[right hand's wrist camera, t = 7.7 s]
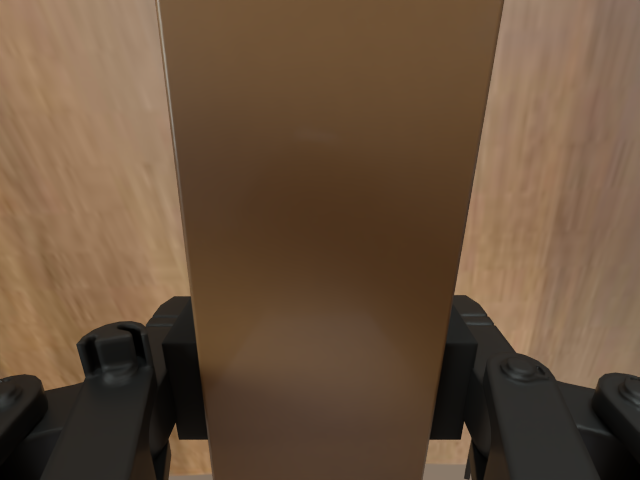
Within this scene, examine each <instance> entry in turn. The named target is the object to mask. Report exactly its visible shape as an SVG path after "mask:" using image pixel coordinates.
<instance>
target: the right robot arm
mask: <svg viewBox="0 0 640 480" xmlns="http://www.w3.org/2000/svg"><path fill="white" fill-rule="evenodd" d="M76 345H77V349H78V352H79V356H80V359H81V363H82V366H83V370H84V374H85V377H86V378H85V380H84V382H82V383H79V384H75V385H70V386H66V387H61V388H57V389H52V390H47V391H44V388H43V385H42V382H41V380H40V379H38V378H37V377H36V376H33V375H26V374H24V375H16V376H10V377H6V378H3V379H0V480H168V478H169V470H170V461H171V450H170V444H169V436H170V434H171V432H172V430H173V427H174V425H175V423H176V426H177V432H178V437H179V440H208V434H207V426H206V418H205V409H204V401H203V393H202V385H201V376H200V368H199V360H198V351H197V343H196V335H195V326H194V318H193V310H192V302H191V296H174V297H173V298H171V299H170V300H168V301H167V302H165V303H163V304H162V305H160V307H159V308H158V309H157V311H156V312H155V313H154V315H153V318H151V319H150V320H149V321H148V323H147V324H146V327H145V326H144V325H143V324H141V323H137V322H133V321H124V322H116V323H112V324H107V325H104V326H102V327H99V328H97V329H94V330H93V331H91V332H90V333H88V334H86V335H85V336H83V337H82V338H81V340H80V341H79V342H78V343H77V344H76ZM464 422H465V424H466V426H467V428H468V431H469V433H470V435H471V438H472V439H471V444H470V449H469V454H468V459H467V464H466V469H465V476H464V479H468V480H469V479H470V474H471V477H472V480H640V377H637V376H633V375H630V374H622V373H609V374H604V375H603V376H602V377H601V378H599V381H598V384H597V387H596V389H591V388H587V387H582V386H577V385H572V384H568V383H564V382H560V381H556V379H555V377H554V376H553V374H552V373H551V372H550V370H549V369H548V368H547V367H545V366H544V365H543V364H541V363H540V362H539V361H537V360H535V359H533V358H531V357H528V356H526V355H523V354H519V353H516V352H515V351H514V349H513V348H512V347H511V345H510V344H509V343H508V341H507V340H506V339H505V337H504V336H503V335H502V333H501V332H500V331H499V329H498V328H497V327H496V326H494V323H493V322H492V320H491V319H490V318H489V317H487V314H486V312H485V311H484V310H483V308H482V307H481V306H480V304H478V303H477V302H475V301H474V300H472V299H471V298H469V297H468V296H466V295H454V298H453V303H452V309H451V315H450V321H449V327H448V333H447V339H446V344H445V350H444V356H443V362H442V368H441V374H440V380H439V386H438V391H437V397H436V403H435V409H434V415H433V421H432V427H431V433H430V438H429V440H461V435H462V430H463V424H464Z"/></svg>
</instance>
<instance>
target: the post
mask: <svg viewBox="0 0 640 480" xmlns="http://www.w3.org/2000/svg"><path fill="white" fill-rule="evenodd" d="M155 3H156V11H157V19H158V28H159V36H160V44H161V53H162V61H163V69H164V78H165V86H166V94H167V102H168V111H169V119H170V127H171V136H172V144H173V152H174V160H175V169H176V177H177V185H178V194H179V202H180V210H181V219H182V227H183V235H184V243H185V252H186V260H187V268H188V277H189V285H190V293H191V302H192V310H193V318H194V326H195V335H196V343H197V351H198V360H199V368H200V376H201V385H202V393H203V401H204V409H205V418H206V426H207V434H208V443H209V451H210V459H211V468H212V476H213V480H422V479H423V473H424V468H425V462H426V456H427V450H428V444H429V438H430V433H431V427H432V421H433V415H434V409H435V403H436V397H437V391H438V386H439V380H440V374H441V368H442V362H443V356H444V350H445V344H446V339H447V333H448V327H449V321H450V315H451V309H452V303H453V298H454V292H455V286H456V280H457V274H458V268H459V262H460V256H461V251H462V245H463V239H464V233H465V227H466V221H467V215H468V209H469V204H470V198H471V192H472V186H473V180H474V174H475V168H476V162H477V157H478V151H479V145H480V139H481V133H482V127H483V121H484V116H485V110H486V104H487V98H488V92H489V86H490V80H491V74H492V69H493V63H494V57H495V51H496V45H497V39H498V33H499V27H500V22H501V16H502V10H503V4H504V0H155Z"/></svg>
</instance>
